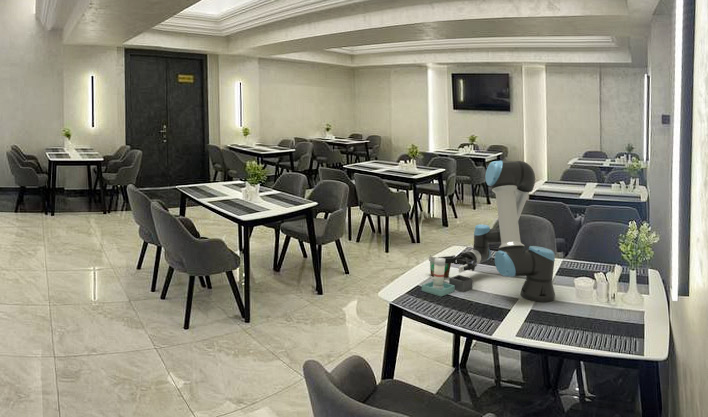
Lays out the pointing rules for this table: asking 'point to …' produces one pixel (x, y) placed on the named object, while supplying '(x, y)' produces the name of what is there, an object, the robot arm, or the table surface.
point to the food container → (431, 259)
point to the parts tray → (429, 289)
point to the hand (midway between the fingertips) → (446, 266)
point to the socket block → (461, 283)
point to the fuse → (439, 273)
